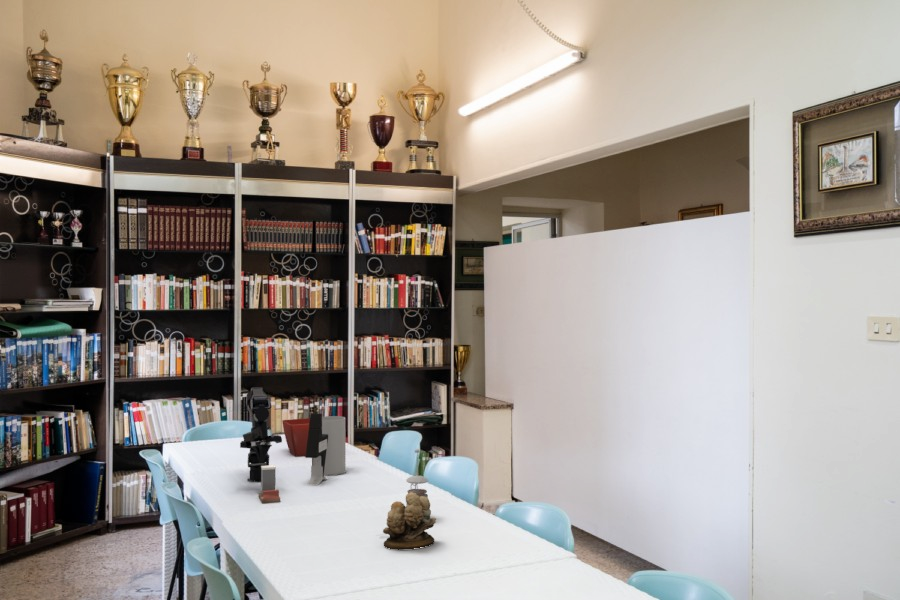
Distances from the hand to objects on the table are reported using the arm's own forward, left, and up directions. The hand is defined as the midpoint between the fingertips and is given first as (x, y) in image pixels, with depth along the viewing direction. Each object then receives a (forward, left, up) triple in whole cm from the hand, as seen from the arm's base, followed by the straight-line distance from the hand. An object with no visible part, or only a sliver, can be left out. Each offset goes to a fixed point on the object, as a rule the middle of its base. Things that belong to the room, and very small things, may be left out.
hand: (261, 462), depth 331 cm
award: (-25, +9, -12) cm, 29 cm away
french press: (+1, +76, -12) cm, 77 cm away
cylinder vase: (-43, +3, -12) cm, 44 cm away
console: (+9, +12, -12) cm, 19 cm away
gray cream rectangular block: (+7, +10, -10) cm, 16 cm away
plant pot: (-72, -37, -12) cm, 81 cm away
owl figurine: (+29, +91, -12) cm, 97 cm away
